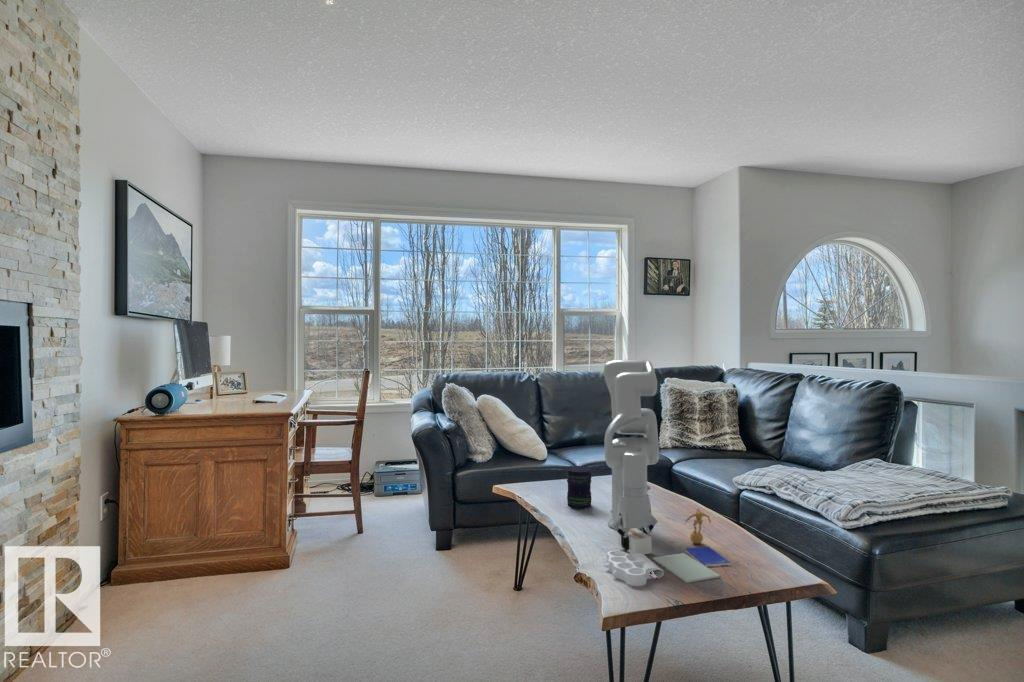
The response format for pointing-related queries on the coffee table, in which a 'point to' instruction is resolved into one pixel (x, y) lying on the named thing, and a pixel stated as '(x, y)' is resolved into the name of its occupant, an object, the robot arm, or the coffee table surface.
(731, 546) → the coffee table surface
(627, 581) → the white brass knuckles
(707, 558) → the hard drive
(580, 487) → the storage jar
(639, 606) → the coffee table surface
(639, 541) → the card box
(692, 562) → the mat
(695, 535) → the figurine
